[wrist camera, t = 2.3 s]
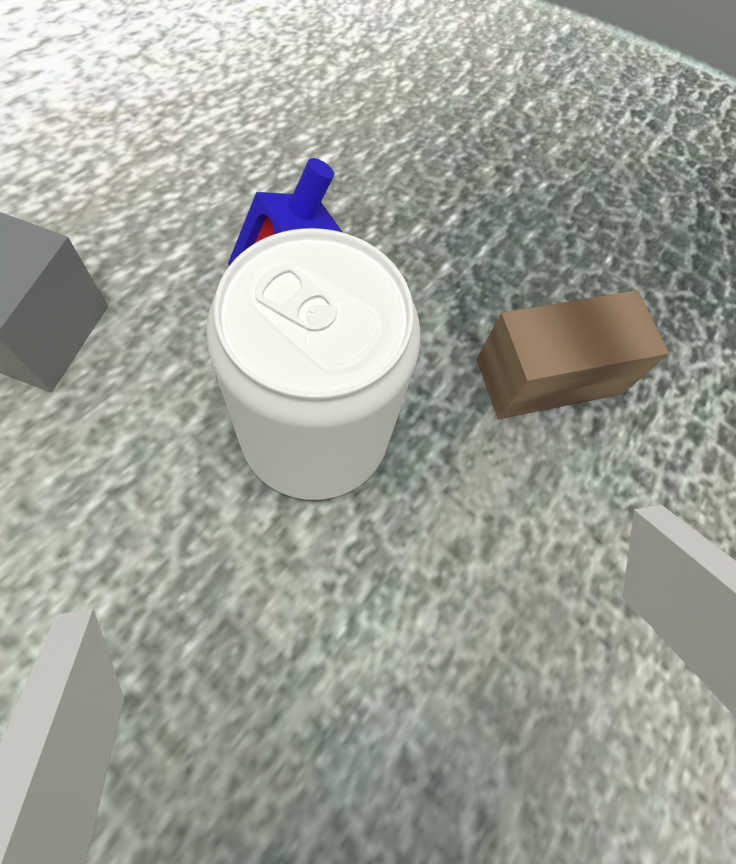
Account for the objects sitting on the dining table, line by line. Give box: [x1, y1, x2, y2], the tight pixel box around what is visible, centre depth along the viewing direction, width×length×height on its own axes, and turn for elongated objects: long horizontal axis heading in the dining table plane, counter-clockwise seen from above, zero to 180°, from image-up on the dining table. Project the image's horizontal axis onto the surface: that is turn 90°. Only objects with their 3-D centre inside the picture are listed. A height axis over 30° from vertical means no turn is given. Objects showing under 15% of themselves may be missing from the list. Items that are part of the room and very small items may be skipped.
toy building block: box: [228, 158, 343, 266], centre depth 33 cm, size 4×4×8 cm
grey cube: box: [0, 212, 108, 392], centre depth 30 cm, size 6×6×6 cm
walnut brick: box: [477, 290, 669, 419], centre depth 32 cm, size 8×4×5 cm, turn 104°
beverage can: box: [207, 228, 420, 500], centre depth 26 cm, size 8×8×12 cm
